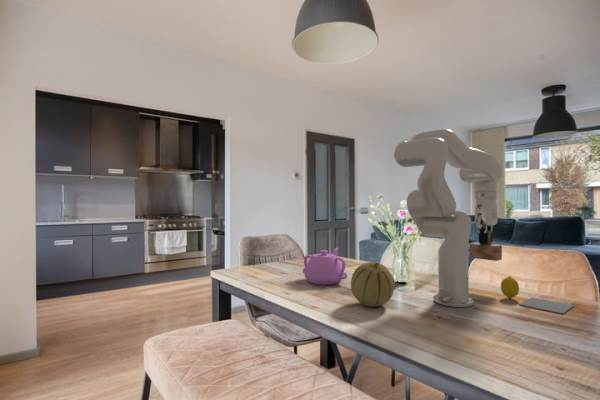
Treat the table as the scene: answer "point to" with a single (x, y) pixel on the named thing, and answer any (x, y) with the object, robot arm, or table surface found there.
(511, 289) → the lemon
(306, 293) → the table surface
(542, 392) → the table surface
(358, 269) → the cantaloupe
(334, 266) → the teapot
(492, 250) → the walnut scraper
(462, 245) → the robot arm
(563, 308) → the slate mat
